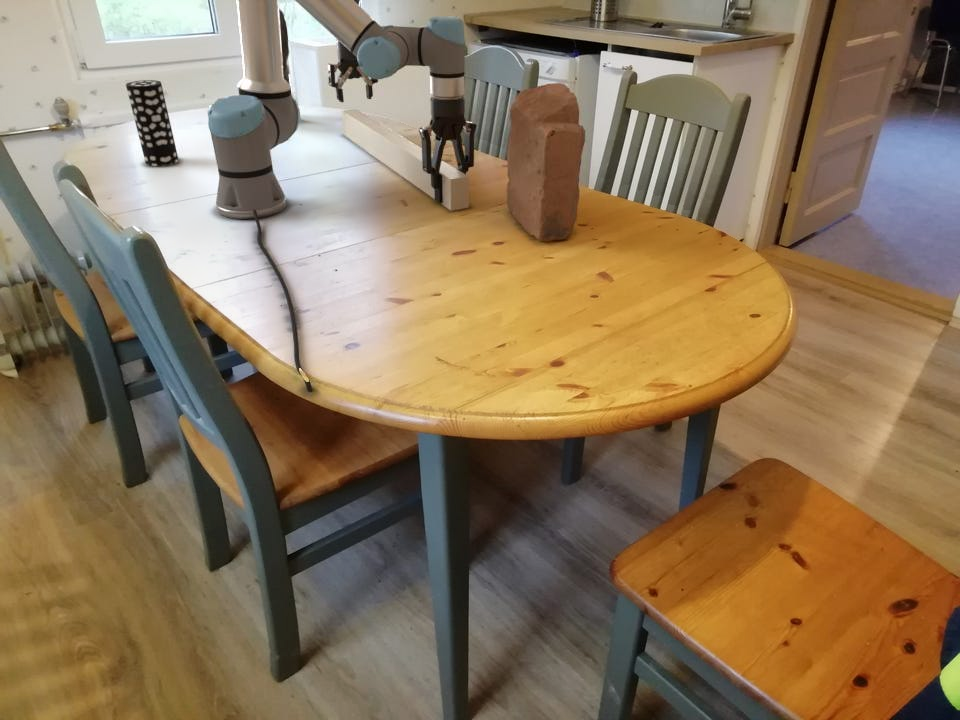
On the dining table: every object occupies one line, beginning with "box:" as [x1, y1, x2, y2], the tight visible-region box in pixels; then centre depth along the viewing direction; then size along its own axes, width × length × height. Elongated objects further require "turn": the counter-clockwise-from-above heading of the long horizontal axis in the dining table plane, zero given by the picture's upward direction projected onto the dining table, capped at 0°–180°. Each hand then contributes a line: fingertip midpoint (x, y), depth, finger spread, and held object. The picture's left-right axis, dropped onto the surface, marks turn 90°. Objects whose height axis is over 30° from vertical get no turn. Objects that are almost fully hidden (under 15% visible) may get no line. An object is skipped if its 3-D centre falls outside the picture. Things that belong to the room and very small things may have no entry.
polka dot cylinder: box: [125, 79, 179, 167], centre depth 181 cm, size 8×8×20 cm
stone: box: [506, 82, 586, 242], centre depth 144 cm, size 22×11×28 cm, turn 18°
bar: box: [341, 108, 470, 212], centre depth 184 cm, size 73×5×7 cm, turn 29°
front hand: (449, 199), depth 163 cm, fingers closed on bar, 5 cm apart
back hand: (355, 100), depth 202 cm, fingers open, 8 cm apart
